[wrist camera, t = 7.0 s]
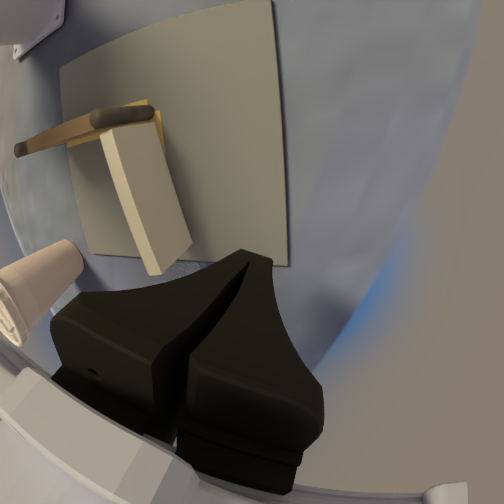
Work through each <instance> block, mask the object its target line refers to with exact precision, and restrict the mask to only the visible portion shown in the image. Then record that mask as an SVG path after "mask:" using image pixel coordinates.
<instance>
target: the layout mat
mask: <svg viewBox="0 0 504 504" xmlns="http://www.w3.org/2000/svg"><path fill="white" fill-rule="evenodd" d="M59 77H60V96H61V109H62V119H63V123H65V122H67V121H70V120H72V119H75V118H77V117H80V116H83V115H85V114H88V113H91V112H92V111H93V110H94V109H98V108H109V107H121V106H137V105H151V106H152V107H153V108H154V110H155V111H154V116H153V118H152V119H151V120H148V121H140V122H138V123H135V124H130V125H126V126H131V125H137V124H144V123H152V122H155V126H156V129H157V133H158V136H159V140H160V143H161V146H162V150H163V153H164V156H165V160H166V163H167V166H168V170H169V173H170V176H171V179H172V182H173V185H174V189H175V192H176V195H177V198H178V201H179V204H180V207H181V210H182V213H183V216H184V219H185V222H186V225H187V228H188V231H189V234H190V236H191V239H192V242H193V243H192V244H191V245H190V246H189V247H188V248H187V249H186V250H185V251H184V252H183V253H182V254H181V255H180V256H179V258H178V260H194V261H210V262H217V261H219V260H221V259H223V258H225V257H226V256H228V255H230V254H232V253H233V252H235V251H237V250H239V249H244V250H247V251H250V252H253V253H256V254H259V255H262V256H266V257H269V258H272V260H273V265H282V266H287V265H288V240H287V209H286V184H285V163H284V145H283V129H282V113H281V99H280V86H279V74H278V62H277V51H276V41H275V31H274V21H273V12H272V3H271V0H248V1H242V2H236V3H230V4H225V5H220V6H215V7H211V8H206V9H202V10H198V11H194V12H191V13H187V14H183V15H180V16H176V17H173V18H170V19H167V20H164V21H161V22H158V23H155V24H152V25H149V26H146V27H144V28H141V29H138V30H136V31H133V32H131V33H128V34H126V35H123V36H121V37H119V38H116V39H114V40H112V41H110V42H107V43H105V44H103V45H101V46H99V47H97V48H95V49H93V50H91V51H89V52H87V53H85V54H83V55H81V56H79V57H77V58H76V59H74V60H72V61H70V62H68V63H67V64H65V65H63V66H62V67H60V68H59ZM122 127H124V126H122ZM107 131H108V130H107ZM104 132H106V131H103V132H100V133H96V134H93V135H90V136H86V137H83V138H80V139H77V140H74V141H71V142H68V143H65V144H66V150H67V157H68V163H69V168H70V174H71V179H72V184H73V189H74V193H75V198H76V202H77V207H78V211H79V215H80V219H81V223H82V227H83V230H84V234H85V238H86V241H87V244H88V248H89V251H90V254H103V255H117V256H132V257H141V255H140V252H139V250H138V248H137V245H136V243H135V240H134V237H133V235H132V232H131V230H130V227H129V224H128V222H127V219H126V216H125V214H124V211H123V208H122V205H121V202H120V200H119V197H118V194H117V191H116V188H115V185H114V182H113V179H112V176H111V173H110V170H109V166H108V163H107V160H106V157H105V153H104V150H103V146H102V143H101V139H100V136H99V135H101V134H103V133H104Z"/></svg>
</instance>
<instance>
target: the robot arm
mask: <svg viewBox="0 0 504 504" xmlns="http://www.w3.org/2000/svg"><path fill="white" fill-rule="evenodd" d="M64 10H65V0H0V45H14V54H13V59H14V60H18V59H19V58H20V57H21V56H23V55H24V54H25V53H26V52H27V51H29V50H30V49H31V48H32V47H34V46H35V45H36V44H37V43H39V42H40V41H41V40H43V39H44V38H45V37H47V36H48V35H49V34H51V33H52V32H54V31H55V30H57V29H58V28H59V27H61V26H62V24H63V21H64ZM272 266H273V260H272V258H269V257H266V256H262V255H259V254H256V253H253V252H250V251H247V250H244V249H239V250H237V251H235V252H233V253H232V254H230V255H228V256H226V257H225V258H223V259H221V260H219V261H217V262H215V263H213V264H212V265H210V266H208V267H206V268H204V269H201V270H199V271H197V272H195V273H192V274H190V275H187V276H184V277H182V278H179V279H175V280H172V281H169V282H165V283H161V284H157V285H152V286H148V287H143V288H137V289H130V290H121V291H106V292H81V293H80V294H78V295H77V296H76V297H75V298H74V299H73V300H71V301H70V302H69V303H68V304H67V305H66V306H65V307H64V308H62V309H61V310H60V311H59V312H58V313H57V314H56V315H55V316H54V317H53V318H52V320H51V321H50V332H51V336H52V339H53V342H54V345H55V347H56V350H57V352H58V355H59V357H60V360H61V362H62V366H61V367H60V368H59V369H58V370H57V371H56V373H55V374H54V375H53V376H51V375H50V374H49V373H48V372H46V371H45V370H44V369H42V368H41V367H40V366H39V365H37V364H36V363H35V362H34V361H33V360H31V359H30V358H29V357H28V356H26V355H25V354H24V353H23V352H22V351H21V350H20V349H19V348H17V347H16V346H15V345H14V344H13V343H12V342H11V341H10V340H9V339H8V338H7V337H5V336H4V335H3V334H2V333H1V332H0V420H1V422H0V504H468V491H467V482H466V481H460V482H450V483H442V484H439V485H436V486H433V487H431V488H429V489H428V490H426V491H425V492H423V493H363V492H350V491H340V490H331V489H323V488H316V487H310V486H304V485H299V484H293V483H294V479H295V474H296V470H297V467H298V466H300V464H301V461H302V457H303V452H304V451H305V450H306V449H307V448H308V447H309V446H310V445H311V444H312V443H313V442H314V441H315V440H316V439H317V438H318V437H319V436H320V434H321V433H322V431H323V425H324V399H323V391H322V386H321V385H320V384H319V382H318V381H317V380H316V379H315V377H314V376H313V375H312V374H311V372H310V371H309V370H308V368H307V367H306V366H305V364H304V363H303V362H302V360H301V358H300V357H299V355H298V353H297V351H296V350H295V348H294V346H293V344H292V342H291V340H290V338H289V336H288V334H287V332H286V329H285V327H284V325H283V322H282V319H281V316H280V313H279V310H278V306H277V302H276V298H275V293H274V287H273V279H272ZM176 436H177V448H176V447H174V446H173V443H174V441H175V439H176Z"/></svg>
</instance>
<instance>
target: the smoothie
mask: <svg viewBox="0 0 504 504" xmlns="http://www.w3.org/2000/svg"><path fill="white" fill-rule="evenodd" d="M83 269H84V263H83V259H82V256H81V254H80V252H79V250H78V249H77V247H76V246H75V245H74V244H73V243H72V242H70V241H69V240H61V241H59V242H57V243H55V244H52V245H50V246H48V247H46V248H44V249H41V250H39V251H37V252H35V253H33V254H31V255H29V256H27V257H25V258H22V259H20V260H18V261H16V262H14V263H13V264H10V265H8V266H6V267H4V268H2V269H0V330H1V332H2V333H3V334H4V335H5V336H6V337H7V338H8V339H9V340H10V341H11V342H12V343H13V344H15V345H16V346H19V347H21V346H22V345H23V344H24V343H25V342H27V341H28V340H29V338H30V337H29V333H30V332H31V331H32V329H33V328H34V327H35V326H36V325H37V323H38V322H39V321H40V320H41V318H42V317H43V316H44V315H45V314H46V312H47V311H48V310H49V309H50V308H51V307H52V305H53V304H54V303H55V302H56V301H57V300H58V298H59V297H60V296H61V295H62V294H63V293H64V292H65V291H66V289H67V288H68V287H69V286H70V285H71V284H72V283H73V282H74V281H75V280H76V278H77V277H78V276H79V275H80V274H81V273H82V272H83Z"/></svg>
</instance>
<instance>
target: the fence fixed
mask: <svg viewBox="0 0 504 504" xmlns="http://www.w3.org/2000/svg"><path fill="white" fill-rule="evenodd" d="M154 111H155V110H154V108H153V107H152V106H151V105H137V106H121V107H109V108H98V109H94V110H93V111H92V112H91V113H88V114H85V115H83V116H80V117H77V118H75V119H72V120H70V121H67V122H65V123H62V124H60V125H58V126H55V127H53V128H51V129H49V130H46V131H44V132H42V133H40V134H38V135H36V136H34V137H32V138H30V139H27V140H26V141H24V142H21V143H17V144H15V147H14V153H15V156H16V157H17V158H19V157H22V156H25V155H28V154H31V153H34V152H37V151H40V150H44V149H47V148H51V147H54V146H58V145H61V144H65V143H68V142H71V141H74V140H77V139H80V138H83V137H86V136H90V135H93V134H96V133H100V132H103V131H107V130H110V129H112V128H118V127H122V126H126V125H130V124H135V123H138V122H140V121H148V120H151V119H152V118H153V116H154Z"/></svg>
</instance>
